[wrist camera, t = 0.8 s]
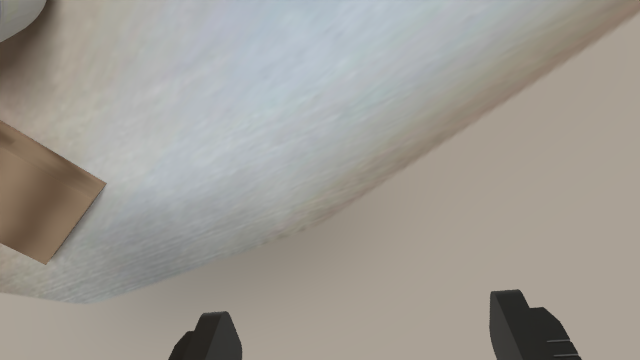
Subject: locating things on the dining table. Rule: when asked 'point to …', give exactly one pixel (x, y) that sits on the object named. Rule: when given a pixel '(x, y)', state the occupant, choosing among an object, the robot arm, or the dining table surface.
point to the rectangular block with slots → (39, 195)
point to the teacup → (17, 15)
